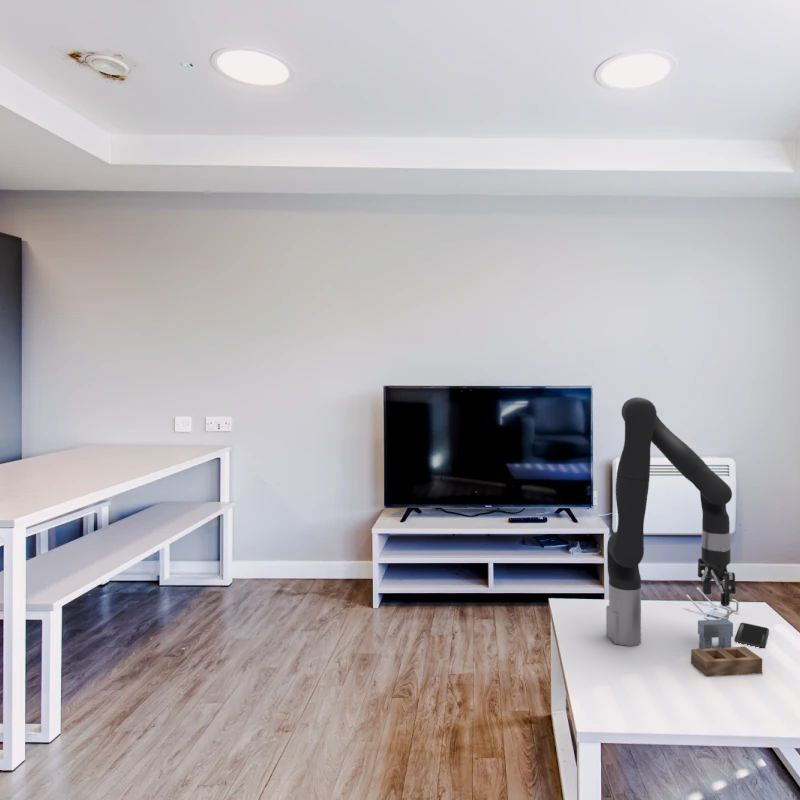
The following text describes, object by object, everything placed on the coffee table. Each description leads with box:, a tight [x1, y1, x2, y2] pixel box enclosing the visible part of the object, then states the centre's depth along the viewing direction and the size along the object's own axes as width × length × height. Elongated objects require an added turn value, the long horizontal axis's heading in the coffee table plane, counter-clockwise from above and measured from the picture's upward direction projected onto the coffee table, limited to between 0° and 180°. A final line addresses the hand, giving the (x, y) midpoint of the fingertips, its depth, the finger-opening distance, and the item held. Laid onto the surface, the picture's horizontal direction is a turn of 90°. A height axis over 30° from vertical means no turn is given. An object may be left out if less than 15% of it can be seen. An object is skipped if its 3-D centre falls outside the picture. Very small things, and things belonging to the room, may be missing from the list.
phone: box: [734, 622, 770, 649], centre depth 175 cm, size 8×1×15 cm
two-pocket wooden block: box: [690, 646, 763, 677], centre depth 157 cm, size 16×7×4 cm, turn 94°
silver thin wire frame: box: [685, 587, 739, 620], centre depth 193 cm, size 16×14×6 cm
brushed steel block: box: [697, 618, 734, 649], centre depth 168 cm, size 9×3×8 cm, turn 94°
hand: (715, 599), depth 167 cm, fingers open, 8 cm apart
